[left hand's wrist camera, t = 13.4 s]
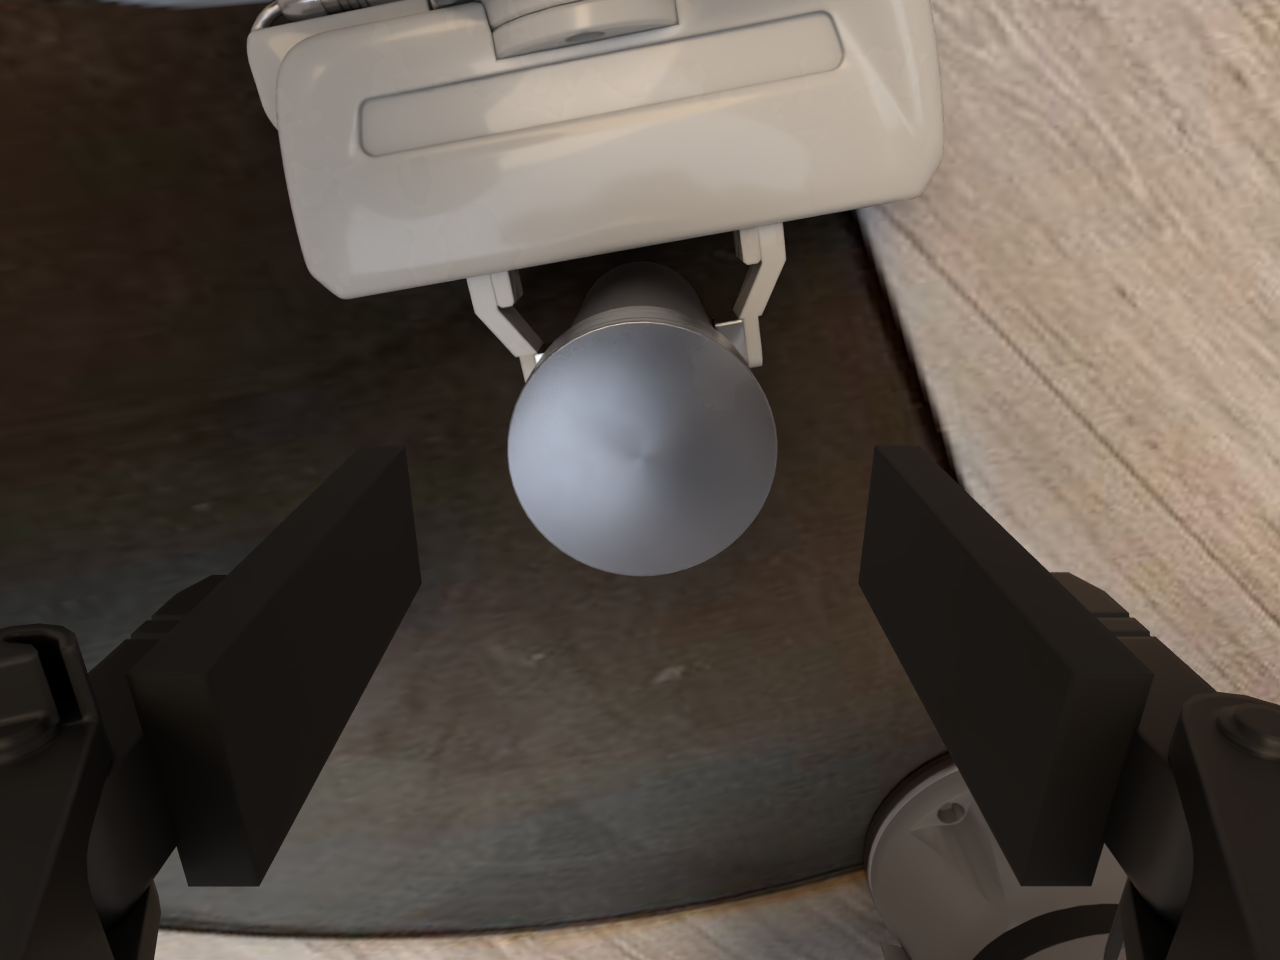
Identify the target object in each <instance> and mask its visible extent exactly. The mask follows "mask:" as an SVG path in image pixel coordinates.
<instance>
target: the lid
mask: <svg viewBox="0 0 1280 960" xmlns="http://www.w3.org/2000/svg"><path fill="white" fill-rule="evenodd" d="M507 462H508V470H509V474H510V478H511V482H512V486H513V489H514V491H515V494H516V496H517V499H518V501H519V503H520V505H521V506H522V508H523V510H524V512H525V513H526V515H527V517H528V518H529V519H530V521H531V522H532V523H533V525H534V526H535V527H536V529H537V530H538V531H539V532H540V533H541V534H542V535H543V536H544V537H545V538H546V539H547V540H548V541H549V542H550V543H552V544H553V545H554V546H555V547H557V548H558V549H559V550H560V551H562V552H563V553H565V554H567V555H568V556H570V557H572V558H573V559H575V560H577V561H579V562H581V563H583V564H586V565H588V566H590V567H593V568H596V569H599V570H602V571H605V572H609V573H615V574H620V575H628V576H657V575H664V574H670V573H675V572H678V571H682V570H685V569H689V568H691V567H694V566H696V565H698V564H701V563H703V562H705V561H707V560H709V559H711V558H712V557H714V556H716V555H718V554H719V553H720V552H722V551H723V550H725V549H726V548H727V547H729V546H730V545H731V544H732V543H733V542H735V541H736V540H737V539H738V538H739V537H740V536H741V535H742V534H743V533H744V532H745V531H746V529H747V528H748V527H749V526H750V525H751V523H752V522H753V521H754V520H755V518H756V516H757V515H758V513H759V512H760V510H761V508H762V507H763V505H764V503H765V500H766V498H767V496H768V494H769V492H770V488H771V485H772V482H773V479H774V475H775V469H776V463H777V434H776V426H775V422H774V418H773V414H772V410H771V408H770V405H769V403H768V400H767V398H766V396H765V393H764V392H763V390H762V388H761V386H760V385H759V383H758V381H757V379H756V378H755V376H754V374H753V373H752V371H751V369H750V368H749V366H748V364H747V362H746V361H745V359H744V358H743V356H742V355H741V354H740V353H739V351H738V350H737V349H736V348H735V346H734V345H733V344H732V343H731V342H730V341H729V340H728V339H726V338H725V337H724V336H723V335H722V334H721V333H720V332H718V331H717V330H715V329H714V328H713V327H711V326H710V325H708V324H706V323H705V322H703V321H701V320H699V319H697V318H695V317H693V316H690V315H688V314H685V313H682V312H680V311H676V310H672V309H667V308H663V307H653V306H628V307H622V308H617V309H611V310H608V311H605V312H602V313H599V314H596V315H593V316H591V317H589V318H587V319H585V320H583V321H581V322H579V323H578V324H576V325H574V326H573V327H571V328H570V329H568V330H567V331H566V332H564V333H563V334H562V335H561V336H560V337H559V338H557V339H556V340H555V341H554V342H553V343H552V344H551V345H550V347H549V348H548V349H547V350H546V351H545V352H544V353H543V355H542V356H541V358H540V359H539V361H538V362H537V364H536V365H535V367H534V369H533V370H532V372H531V374H530V376H529V377H528V379H527V381H526V383H525V384H524V386H523V388H522V390H521V392H520V394H519V396H518V398H517V400H516V402H515V405H514V408H513V411H512V415H511V418H510V422H509V428H508V434H507Z"/></svg>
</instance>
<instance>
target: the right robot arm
mask: <svg viewBox="0 0 1280 960" xmlns="http://www.w3.org/2000/svg"><path fill="white" fill-rule="evenodd" d="M351 10H352V11H351ZM345 11H347V12H345ZM281 15H284V17H285V18H286V19H287V20H288V21H289V22H293V23H288V24H283V25H278V26H273V27H270V25H271V24H272V23H273V22H274V21H275V20H276V19H277V18H278V17H280V16H281ZM247 55H248V60H249V64H250V67H251V71H252V74H253V77H254V80H255V83H256V87H257V90H258V93H259V96H260V99H261V102H262V106H263V108H264V110H265V112H266V114H267V116H268V118H269V120H270V122H271V123H272V125H273V126H274V127H275V129H276V130H277V131H278V133H279V141H280V148H281V154H282V160H283V167H284V173H285V178H286V184H287V189H288V194H289V199H290V204H291V209H292V213H293V217H294V222H295V226H296V230H297V234H298V238H299V242H300V246H301V249H302V253H303V256H304V260H305V263H306V265H307V268H308V270H309V272H310V273H311V275H312V276H313V277H314V278H315V279H316V280H317V281H319V282H320V283H321V284H322V285H323V286H325V287H326V288H327V289H328V290H330V291H331V292H332V293H333V294H335V295H336V296H337V297H339V298H341V299H352V298H358V297H364V296H369V295H375V294H381V293H386V292H392V291H397V290H403V289H409V288H414V287H420V286H426V285H431V284H437V283H442V282H448V281H454V280H459V279H465V278H466V279H467V283H468V287H469V291H470V295H471V299H472V303H473V307H474V311H475V314H476V315H477V316H478V317H479V318H480V319H481V320H482V321H483V323H484V324H485V325H486V326H487V327H488V328H489V329H490V330H491V331H492V332H493V333H494V334H495V336H496V337H497V338H498V339H499V340H500V341H501V342H502V343H503V344H504V345H505V346H506V347H507V348H508V350H509V351H510V352H511V353H512V354H513V355H514V356H515V357H519V358H520V362H521V367H522V371H523V375H524V379H525V383H526V381H527V379H528V377H529V376H530V374H531V372H532V370H533V369H534V367H535V365H536V364H537V362H538V361H539V359H540V358H541V356H542V355H543V353H544V352H545V351H546V350H547V349H548V348H549V347H550V345H551V344H552V343H553V342H552V343H545V344H543V341H542V340H541V339H540V338H539V337H538V335H537V334H536V333H535V332H534V331H533V329H532V328H531V327H530V326H529V325H528V324H527V322H526V321H525V320H524V319H523V318H522V316H521V315H520V314H519V313H518V312H517V310H516V309H515V308H514V307H513V305H514V304H515V303H516V302H517V301H518V300H519V299H520V298H521V296H522V295H523V289H522V284H521V279H520V275H519V270H518V269H521V268H527V267H532V266H538V265H544V264H549V263H555V262H561V261H566V260H572V259H577V258H583V257H589V256H594V255H600V254H606V253H611V252H617V251H623V250H628V249H634V248H639V247H645V246H651V245H656V244H662V243H668V242H673V241H679V240H684V239H690V238H696V237H701V236H707V235H713V234H718V233H724V232H729V231H733V237H734V244H735V252H736V257H738V258H739V259H740V260H741V261H743V262H744V263H745V264H747V265H750V267H749V270H748V272H747V275H746V277H745V280H744V283H743V285H742V288H741V290H740V293H739V295H738V298H737V300H736V303H735V305H734V308H733V311H732V312H727V313H722V314H717V315H712V316H711V322H712V326H713V328H714V329H715V330H717V331H718V332H720V333H721V334H722V335H723V336H724V337H725V338H726V339H728V340H729V341H730V342H731V343H732V344H733V345H734V346H735V348H736V349H737V350H738V351H739V353H740V354H741V355H742V356H743V358H744V359H745V361H746V362H747V364H748V366H749V368H752V367H758V366H762V348H761V339H760V331H759V322H758V316H761V315H762V313H763V311H764V309H765V306H766V304H767V302H768V300H769V297H770V295H771V293H772V290H773V288H774V286H775V284H776V281H777V279H778V277H779V274H780V272H781V270H782V268H783V265H784V263H785V261H786V253H785V242H784V231H783V222H786V221H791V220H797V219H803V218H808V217H814V216H819V215H825V214H831V213H836V212H842V211H848V210H853V209H859V208H865V207H870V206H876V205H881V204H887V203H892V202H898V201H904V200H909V199H914V198H916V197H918V196H919V195H920V194H922V192H923V191H924V189H925V188H926V186H927V185H928V183H929V182H930V180H931V179H932V177H933V175H934V174H935V172H936V170H937V169H938V167H939V165H940V163H941V161H942V158H943V153H944V113H943V98H942V85H941V75H940V65H939V56H938V48H937V40H936V33H935V27H934V21H933V15H932V9H931V3H930V0H273V1H272V2H270V3H269V4H268V5H266V6H265V7H264V8H263V9H262V10H261V11H260V12H259V14H258V15H257V17H256V18H255V20H254V23H253V25H252V27H251V31H250V34H249V36H248V38H247Z"/></svg>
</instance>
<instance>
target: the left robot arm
mask: <svg viewBox="0 0 1280 960" xmlns="http://www.w3.org/2000/svg"><path fill="white" fill-rule="evenodd" d="M421 584H422V583H421V575H420V566H419V558H418V550H417V541H416V533H415V525H414V516H413V508H412V500H411V491H410V483H409V475H408V466H407V458H406V450H405V446H361V447H360V448H359V449H358V450H357V451H356V452H355V453H354V454H353V455H352V456H351V457H350V458H348V459H347V460H346V461H345V462H344V463H343V464H342V465H341V466H340V467H339V468H338V469H337V470H336V471H335V472H334V473H333V474H332V475H331V476H330V477H329V478H328V479H327V480H326V481H325V482H324V483H323V484H322V485H321V486H319V487H318V488H317V489H316V490H315V491H314V492H313V493H312V494H311V495H310V496H309V497H308V498H307V499H306V500H305V501H304V502H303V503H302V504H301V505H300V506H299V507H298V508H297V509H296V510H295V511H294V512H293V513H292V514H291V515H289V516H288V517H287V518H286V519H285V520H284V521H283V522H282V523H281V524H280V525H279V526H278V527H277V528H276V529H275V530H274V531H273V532H272V533H271V534H270V535H269V536H268V537H267V538H266V539H265V540H264V541H263V542H262V543H261V544H259V545H258V546H257V547H256V548H255V549H254V550H253V551H252V552H251V553H250V554H249V555H248V556H247V557H246V558H245V559H244V560H243V561H242V562H241V563H240V564H239V565H238V566H237V567H236V568H235V569H234V570H233V571H232V572H230V573H229V574H228V575H211V576H209V577H208V578H206V579H204V580H202V581H200V582H198V583H196V584H194V585H192V586H190V587H189V588H187V589H185V590H183V591H181V592H179V593H177V594H176V595H175V596H173V597H172V598H171V599H170V600H169V601H168V602H167V603H166V604H165V605H163V606H162V607H161V608H160V609H159V610H158V611H157V612H156V613H155V614H153V615H152V619H151V621H146V622H145V623H143V624H142V625H141V626H140V627H139V628H138V629H137V630H136V631H135V632H133V633H132V634H131V639H126V640H125V641H123V642H122V643H121V644H120V645H119V646H118V647H117V648H116V649H115V650H113V651H112V652H111V653H110V654H109V655H108V656H107V657H106V658H105V659H103V660H102V661H101V662H100V663H99V664H98V665H97V666H96V667H95V668H93V669H92V670H91V671H90V672H89V673H87V670H86V667H85V664H84V661H83V658H82V654H81V651H80V648H79V645H78V642H77V639H76V636H75V633H73V632H71V631H70V630H68V629H66V628H65V627H63V626H58V625H49V624H30V625H21V626H12V627H6V628H2V629H0V960H154V955H155V949H156V942H157V936H158V929H159V922H160V916H161V909H160V902H159V896H158V893H157V889H156V886H155V883H154V880H153V879H154V878H155V876H156V875H157V873H158V872H159V870H160V869H161V867H162V866H163V865H164V863H165V862H166V860H167V859H168V857H169V856H170V854H171V853H172V852H173V850H174V849H175V847H176V846H177V849H178V853H179V856H180V859H181V863H182V866H183V870H184V873H185V876H186V880H187V883H188V886H260V884H261V882H262V880H263V878H264V876H265V874H266V873H267V871H268V869H269V867H270V865H271V863H272V861H273V860H274V858H275V856H276V854H277V852H278V850H279V848H280V846H281V845H282V843H283V841H284V839H285V837H286V835H287V833H288V832H289V830H290V828H291V826H292V824H293V822H294V820H295V819H296V817H297V815H298V813H299V811H300V809H301V807H302V805H303V804H304V802H305V800H306V798H307V796H308V794H309V792H310V791H311V789H312V787H313V785H314V783H315V781H316V779H317V778H318V776H319V774H320V772H321V770H322V768H323V766H324V765H325V763H326V761H327V759H328V757H329V755H330V753H331V751H332V750H333V748H334V746H335V744H336V742H337V740H338V738H339V737H340V735H341V733H342V731H343V729H344V727H345V725H346V724H347V722H348V720H349V718H350V716H351V714H352V712H353V710H354V709H355V707H356V705H357V703H358V701H359V699H360V697H361V696H362V694H363V692H364V690H365V688H366V686H367V684H368V683H369V681H370V679H371V677H372V675H373V673H374V671H375V670H376V668H377V666H378V664H379V662H380V660H381V658H382V656H383V655H384V653H385V651H386V649H387V647H388V645H389V643H390V642H391V640H392V638H393V636H394V634H395V632H396V630H397V629H398V627H399V625H400V623H401V621H402V619H403V617H404V615H405V614H406V612H407V610H408V608H409V606H410V604H411V602H412V601H413V599H414V597H415V595H416V593H417V591H418V589H419V588H420V586H421ZM858 584H859V586H860V588H861V589H862V591H863V593H864V595H865V597H866V599H867V601H868V602H869V604H870V606H871V608H872V610H873V612H874V614H875V615H876V617H877V619H878V621H879V623H880V625H881V627H882V629H883V630H884V632H885V634H886V636H887V638H888V640H889V642H890V643H891V645H892V647H893V649H894V651H895V653H896V655H897V656H898V658H899V660H900V662H901V664H902V666H903V668H904V670H905V671H906V673H907V675H908V677H909V679H910V681H911V683H912V684H913V686H914V688H915V690H916V692H917V694H918V696H919V697H920V699H921V701H922V703H923V705H924V707H925V709H926V710H927V712H928V714H929V716H930V718H931V720H932V722H933V724H934V725H935V727H936V729H937V731H938V733H939V735H940V737H941V738H942V740H943V742H944V744H945V746H946V748H947V750H948V751H949V753H948V754H946V755H944V756H942V757H939V758H937V759H935V760H933V761H932V762H930V763H928V764H927V765H925V766H923V767H922V768H920V769H919V770H917V771H916V772H914V773H913V774H912V775H910V776H909V777H908V778H907V779H905V780H904V781H903V782H902V783H901V784H900V785H899V786H898V787H897V788H896V789H895V790H894V791H893V792H892V793H891V794H890V795H889V796H888V797H887V799H886V800H885V801H884V802H883V804H882V805H881V807H880V808H879V810H878V811H877V813H876V815H875V817H874V818H873V820H872V823H871V825H870V827H869V830H868V833H867V836H866V840H865V846H864V869H865V874H866V878H867V881H868V884H869V888H870V891H871V894H872V897H873V900H874V902H875V905H876V907H877V909H878V911H879V913H880V915H881V917H882V919H883V921H884V923H885V925H886V926H887V928H888V930H889V931H890V932H891V934H892V935H893V936H894V938H895V939H896V940H897V942H899V943H900V945H901V946H902V947H899V946H894V945H890V944H886V943H881V942H880V944H881V948H882V951H883V954H884V957H885V960H1280V706H1279V705H1277V704H1273V703H1270V702H1267V701H1263V700H1260V699H1256V698H1253V697H1250V696H1246V695H1238V694H1230V693H1222V692H1217V691H1216V690H1215V689H1213V688H1212V687H1211V686H1210V685H1209V684H1208V683H1207V682H1206V681H1204V680H1203V679H1202V678H1201V677H1200V676H1199V675H1198V674H1197V673H1195V672H1194V671H1193V670H1192V669H1191V668H1190V667H1189V666H1188V665H1187V664H1185V663H1184V662H1183V661H1182V660H1181V659H1180V658H1179V657H1178V656H1176V655H1175V654H1174V653H1173V652H1172V651H1171V650H1170V649H1169V648H1167V647H1166V646H1165V645H1164V644H1163V643H1162V642H1161V641H1160V640H1158V639H1157V638H1156V637H1151V636H1150V631H1148V630H1147V629H1146V628H1145V627H1144V626H1143V625H1142V624H1141V623H1139V622H1138V621H1137V620H1136V619H1135V618H1130V617H1129V613H1128V612H1127V611H1126V610H1125V609H1124V608H1123V607H1122V606H1120V605H1119V604H1118V603H1117V602H1116V601H1115V600H1114V599H1113V598H1111V597H1110V596H1109V595H1108V594H1107V593H1106V592H1105V591H1103V590H1101V589H1099V588H1097V587H1095V586H1093V585H1092V584H1090V583H1088V582H1086V581H1084V580H1082V579H1080V578H1078V577H1076V576H1074V575H1072V574H1070V573H1069V572H1048V571H1047V570H1046V569H1045V568H1044V567H1043V566H1042V565H1041V564H1040V563H1039V562H1038V561H1037V560H1036V559H1035V558H1034V557H1033V556H1032V555H1031V554H1030V553H1029V552H1028V551H1027V550H1026V549H1025V548H1024V547H1023V546H1022V545H1021V544H1019V543H1018V542H1017V541H1016V540H1015V539H1014V538H1013V537H1012V536H1011V535H1010V534H1009V533H1008V532H1007V531H1006V530H1005V529H1004V528H1003V527H1002V526H1001V525H1000V524H999V523H998V522H997V521H996V520H995V519H994V518H993V517H992V516H991V515H989V514H988V513H987V512H986V511H985V510H984V509H983V508H982V507H981V506H980V505H979V504H978V503H977V502H976V501H975V500H974V499H973V498H972V497H971V496H970V495H969V494H968V493H967V492H966V491H965V490H964V489H963V488H962V487H961V486H959V485H958V484H957V483H956V482H955V481H954V480H953V479H952V478H951V477H950V476H949V475H948V474H947V473H946V472H945V471H944V470H943V469H942V468H941V467H940V466H939V465H938V464H937V463H936V462H935V461H934V460H933V459H932V458H930V457H929V456H928V455H927V454H926V453H925V452H924V451H923V450H922V449H921V448H920V447H919V446H875V449H874V458H873V466H872V475H871V483H870V491H869V500H868V508H867V516H866V525H865V533H864V541H863V550H862V558H861V566H860V575H859V583H858Z"/></svg>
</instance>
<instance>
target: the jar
mask: <svg viewBox="0 0 1280 960" xmlns="http://www.w3.org/2000/svg"><path fill="white" fill-rule="evenodd" d="M628 306H653V307H663V308H667V309H672V310H676V311H680V312H682V313H685V314H688V315H690V316H693V317H695V318H697V319H699V320H701V321H703V322H705V323H706V324H708V325H710V326H711V327H713V326H712V324H711V322H710V320H709V318H708V316H707V314H706V312H705V310H704V308H703V306H702V304H701V302H700V300H699V298H698V296H697V294H696V292H695V291H694V289H693V287H692V286H691V285H690V284H689V282H688V281H687V280H686V279H685V278H684V277H683V276H681V275H680V274H679V273H677V272H676V271H674V270H673V269H671V268H669V267H667V266H664V265H661V264H658V263H654V262H646V261H637V262H630V263H625V264H622V265H619V266H617V267H615V268H613V269H611V270H609V271H608V272H606V273H605V274H603V275H602V276H601V277H600V278H599V279H598V280H597V281H596V282H595V283H594V284H593V285H592V287H591V288H590V290H589V291H588V293H587V295H586V297H585V299H584V301H583V303H582V305H581V307H580V310H579V312H578V314H577V316H576V318H575V320H574V322H573V324H572V326H571V327H573V326H574V325H576V324H578V323H579V322H581V321H583V320H585V319H587V318H589V317H591V316H593V315H596V314H599V313H602V312H605V311H608V310H611V309H617V308H622V307H628Z"/></svg>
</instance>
